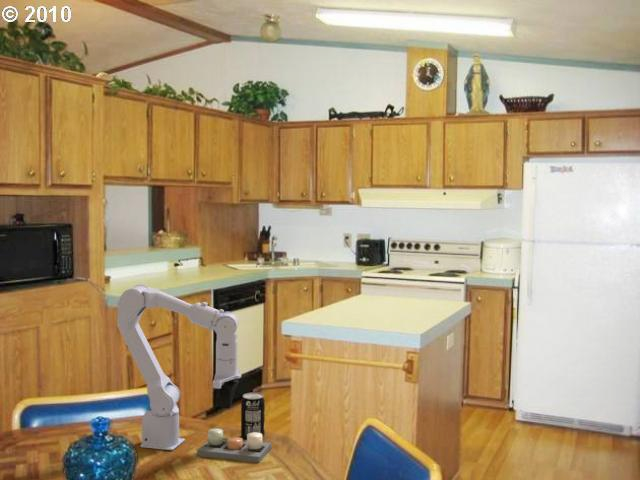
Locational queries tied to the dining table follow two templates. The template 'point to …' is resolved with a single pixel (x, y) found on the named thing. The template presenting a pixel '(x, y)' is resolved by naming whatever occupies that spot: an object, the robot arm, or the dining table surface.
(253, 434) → the cream rounded piece
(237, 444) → the peach egg
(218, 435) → the cap sage
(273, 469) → the dining table surface
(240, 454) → the board
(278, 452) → the dining table surface
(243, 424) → the beverage can
